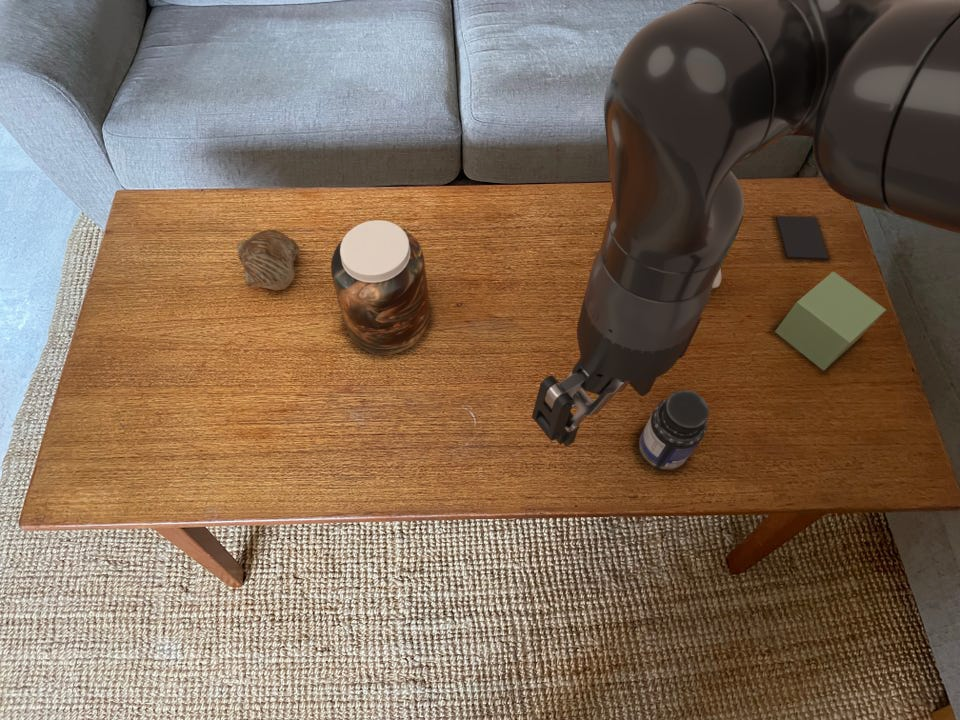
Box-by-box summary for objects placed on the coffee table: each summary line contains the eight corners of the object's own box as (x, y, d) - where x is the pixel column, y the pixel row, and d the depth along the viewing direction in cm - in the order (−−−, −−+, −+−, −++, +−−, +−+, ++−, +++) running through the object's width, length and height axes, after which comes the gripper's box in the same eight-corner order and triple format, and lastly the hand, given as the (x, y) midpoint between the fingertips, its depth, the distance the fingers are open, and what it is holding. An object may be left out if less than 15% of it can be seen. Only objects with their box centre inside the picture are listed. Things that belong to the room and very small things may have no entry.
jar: (334, 300, 91) (312, 226, 78) (413, 274, 93) (404, 198, 80) (360, 367, 85) (341, 299, 72) (443, 338, 88) (439, 268, 75)
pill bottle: (691, 435, 81) (720, 393, 71) (682, 478, 78) (712, 441, 68) (642, 420, 82) (665, 377, 72) (632, 462, 79) (654, 424, 69)
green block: (858, 339, 89) (886, 309, 83) (823, 371, 86) (850, 342, 80) (809, 302, 92) (833, 271, 86) (774, 331, 89) (796, 301, 83)
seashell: (240, 296, 92) (294, 300, 91) (219, 266, 85) (277, 269, 84) (258, 244, 96) (310, 247, 95) (240, 212, 90) (295, 215, 89)
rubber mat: (827, 259, 96) (828, 257, 95) (786, 258, 96) (788, 256, 95) (814, 219, 100) (816, 217, 100) (776, 217, 100) (777, 216, 100)
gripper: (595, 395, 39) (563, 489, 53) (759, 290, 43) (690, 402, 57) (521, 311, 42) (509, 420, 56) (681, 220, 46) (633, 342, 60)
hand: (600, 411), depth 57 cm, fingers open, 8 cm apart
